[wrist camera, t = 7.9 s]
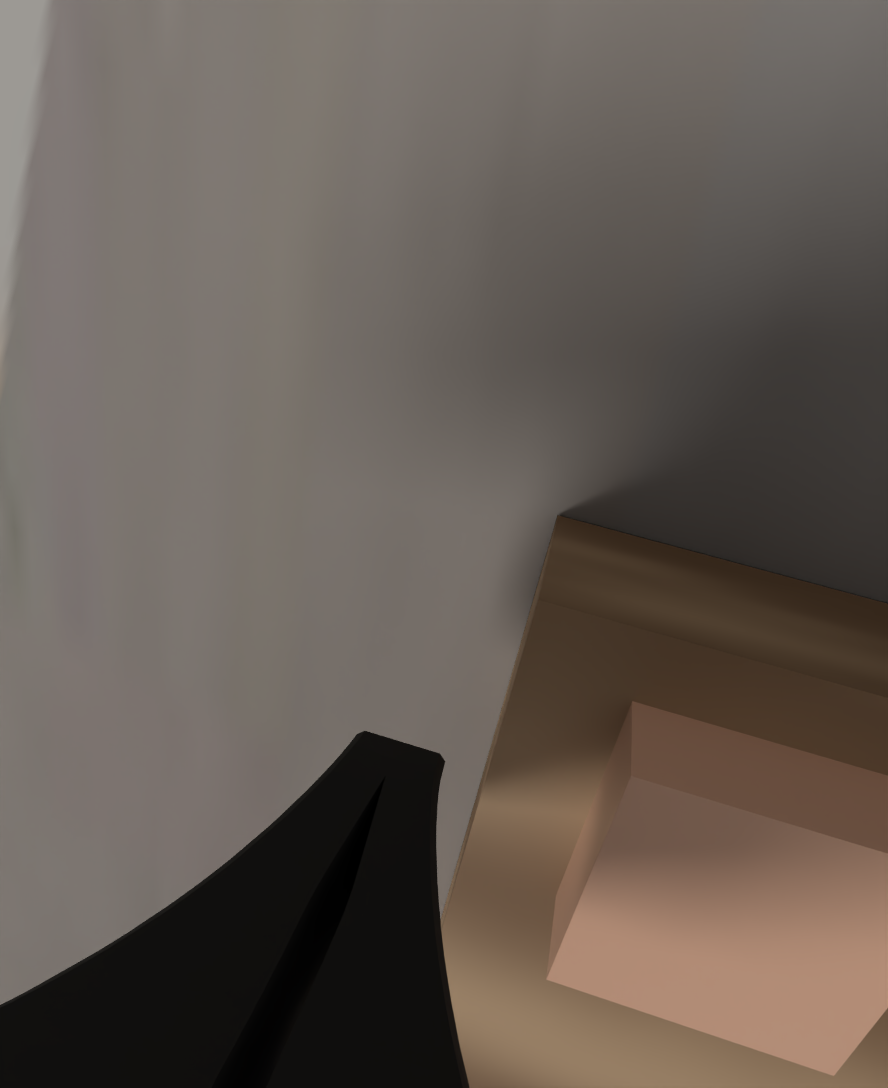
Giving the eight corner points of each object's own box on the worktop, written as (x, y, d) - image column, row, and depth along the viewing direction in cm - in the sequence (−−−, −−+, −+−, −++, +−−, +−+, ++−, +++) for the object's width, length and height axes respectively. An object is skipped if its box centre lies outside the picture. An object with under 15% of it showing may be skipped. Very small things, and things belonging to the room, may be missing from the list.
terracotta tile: (813, 978, 13) (833, 1075, 12) (556, 895, 14) (546, 979, 12) (943, 791, 11) (986, 883, 10) (632, 701, 12) (631, 776, 10)
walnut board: (865, 1106, 19) (901, 1260, 16) (429, 958, 20) (397, 1080, 17) (1219, 692, 13) (1371, 834, 10) (558, 515, 14) (537, 599, 11)
